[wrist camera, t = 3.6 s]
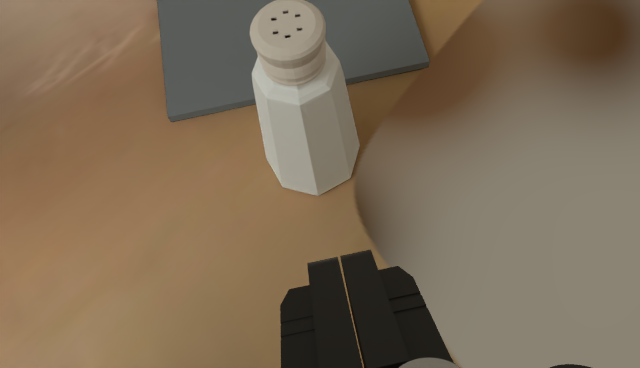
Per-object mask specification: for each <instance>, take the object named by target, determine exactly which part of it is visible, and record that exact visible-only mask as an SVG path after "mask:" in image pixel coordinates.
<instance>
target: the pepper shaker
mask: <svg viewBox="0 0 640 368" xmlns="http://www.w3.org/2000/svg"><path fill="white" fill-rule="evenodd" d="M325 35H326V23H325V20H324V16H323V15H322V13H321V12H320V10H319V9H318V8H317V7H315V6H314V5H313V4H311V3H309V2H307V1H304V0H275V1H273V2H271V3H269V4H267V5H266V6H264V7H263V8H262V9H261V10H260V11H259V12H258V13H257V14H256V16H255V17H254V18H253V21H252V23H251V26H250V38H251V42H252V44H253V46H254V48H255V49H256V51H257V55H258V58H257V60H256V63H255V66H254V68H253V71H252V83H253V89H254V94H255V100H256V105H257V111H258V116H259V122H260V127H261V132H262V138H263V143H264V149H265V154H266V159H267V160H268V162H269V164H270V166H271V167H272V169H273V171H274V173H275V175H276V176H277V178H278V180H279V182H280V183H281V185H282V187H284V188H288V189H292V190H296V191H300V192H304V193H308V194H312V195H316V196H319V195H321V194H323V193H325V192H326V191H328V190H330V189H332V188H334V187H336V186H337V185H339V184H341V183H343V182H345V181H346V180H348V179H350V178H351V175H352V172H353V168H354V165H355V161H356V157H357V154H358V150H359V147H360V144H359V140H358V135H357V131H356V127H355V122H354V118H353V113H352V109H351V105H350V100H349V96H348V91H347V87H346V83H345V78H344V74H343V70H342V67H341V64H340V61H339V59H338V58H337V56H336V55H335V54H334V52H333V51H332V49H331V48H330V46H329V45H328V44H327V42H326V41H325Z"/></svg>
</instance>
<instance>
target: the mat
mask: <svg viewBox="0 0 640 368" xmlns="http://www.w3.org/2000/svg"><path fill="white" fill-rule="evenodd" d="M273 1H275V0H157V4H158V15H159V26H160V37H161V48H162V59H163V70H164V81H165V92H166V103H167V114H168V118H169V119H170V121H171V122H174V121H179V120H183V119H188V118H193V117H197V116H202V115H207V114H211V113H216V112H221V111H225V110H230V109H235V108H239V107H244V106H249V105H254V104H256V100H255V94H254V89H253V83H252V71H253V68H254V66H255V63H256V60H257V58H258V55H257V51H256V49H255V48H254V46H253V44H252V42H251V38H250V26H251V23H252V21H253V18H254V17H255V16H256V14H257V13H258V12H259V11H260V10H261V9H262V8H263V7H264V6H266V5H267V4H269V3H271V2H273ZM304 1H307V2H309V3H311V4H313V5H314V6H315V7H317V8H318V9H319V10H320V12H321V13H322V15H323V16H324V20H325V23H326V35H325V41H326V42H327V44H328V45H329V46H330V48H331V49H332V51H333V52H334V54H335V55H336V56H337V58H338V59H339V61H340V64H341V67H342V70H343V74H344V78H345V83H346V85H347V84H352V83H357V82H361V81H366V80H371V79H375V78H380V77H385V76H389V75H394V74H399V73H403V72H408V71H413V70H417V69H422V68H427V67H429V63H430V60H429V57H428V54H427V52H426V49H425V46H424V43H423V40H422V37H421V34H420V32H419V29H418V26H417V23H416V20H415V17H414V14H413V11H412V9H411V6H410V3H409V0H304Z"/></svg>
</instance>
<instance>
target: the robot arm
mask: <svg viewBox="0 0 640 368" xmlns="http://www.w3.org/2000/svg"><path fill="white" fill-rule="evenodd" d="M340 257H341V262H342V267H343V272H344V277H345V282H346V286H347V291H348V296H349V301H350V306H351V310H352V315H353V320H354V324H355V329H356V333H357V338H358V342H359V347H360V351H361V355H362V360H363V364H364V368H460V367H459V366H457V365H456V364H455V363H454V362H453V360H452V359H451V357H450V355H449V353H448V350H447V348H446V346H445V344H444V342H443V340H442V338H441V336H440V333H439V331H438V329H437V327H436V325H435V323H434V321H433V319H432V316H431V314H430V312H429V310H428V309H427V307H426V304H425V302H424V299H423V297H422V295H421V294H420V291H419V289H418V287H417V285H416V283H415V280H414V278H413V277H412V276H411V275H410V274H408V273H407V272H405V271H404V270H403V269H401V268H400V267H398V266H396V267H391V268H386V269H382V270H378V269H377V266H376V263H375V260H374V257H373V255H372V252H371V250H367V251H362V252H357V253H353V254H348V255H343V256H340ZM308 274H309V283H310V285H308V286H303V287H298V288H294V289H289V291H288V293H287V294H286V296H285V298H284V300H283V302H282V304H281V305H280V311H281V368H363V367H362V363H361V358H360V354H359V349H358V345H357V340H356V336H355V332H354V327H353V323H352V318H351V314H350V309H349V305H348V301H347V296H346V292H345V287H344V283H343V278H342V274H341V270H340V265H339V261H338V257H334V258H330V259H325V260H320V261H316V262H311V263H308ZM550 368H591V367H587V366H582V365H574V364H570V365H569V364H565V365H557V366H553V367H550Z"/></svg>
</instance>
